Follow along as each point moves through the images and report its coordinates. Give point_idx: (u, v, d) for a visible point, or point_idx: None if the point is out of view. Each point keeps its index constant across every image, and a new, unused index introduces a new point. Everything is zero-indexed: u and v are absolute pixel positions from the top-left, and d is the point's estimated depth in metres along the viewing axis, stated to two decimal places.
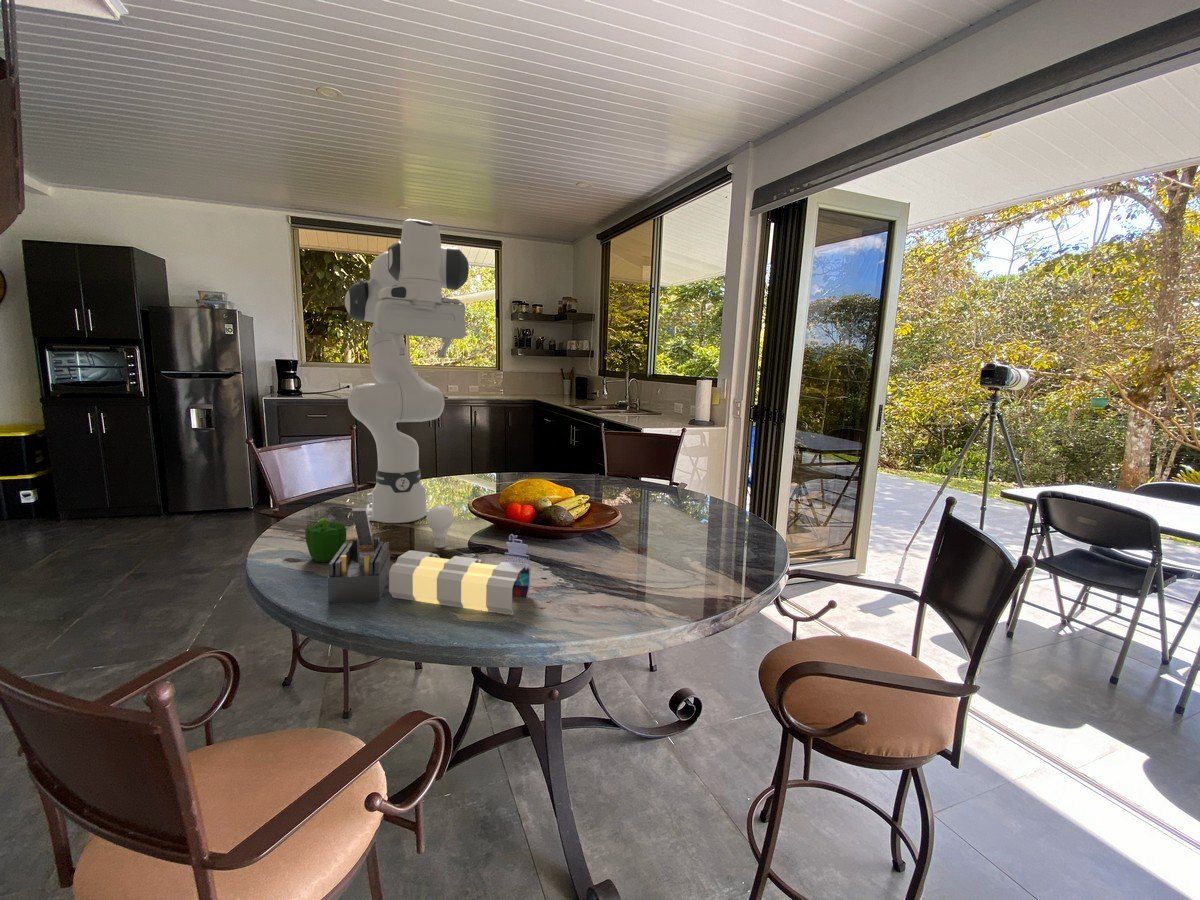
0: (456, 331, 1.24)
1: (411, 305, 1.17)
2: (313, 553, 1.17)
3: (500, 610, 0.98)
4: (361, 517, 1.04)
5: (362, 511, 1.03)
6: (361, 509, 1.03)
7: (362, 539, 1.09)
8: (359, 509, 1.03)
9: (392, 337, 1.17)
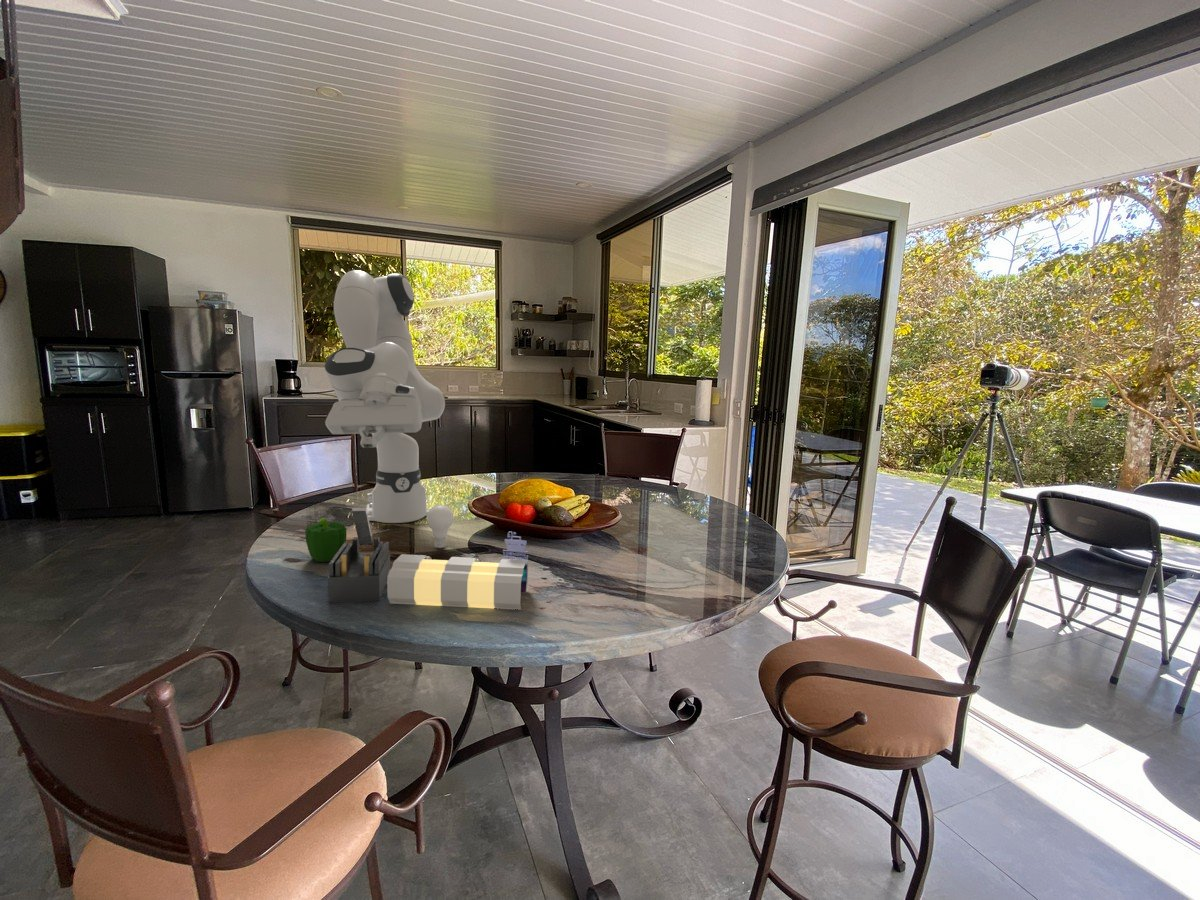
0: None
1: None
2: (313, 553, 1.17)
3: (507, 606, 1.00)
4: (361, 517, 1.04)
5: (362, 511, 1.03)
6: (361, 509, 1.03)
7: (362, 539, 1.09)
8: (359, 509, 1.03)
9: (383, 432, 1.17)
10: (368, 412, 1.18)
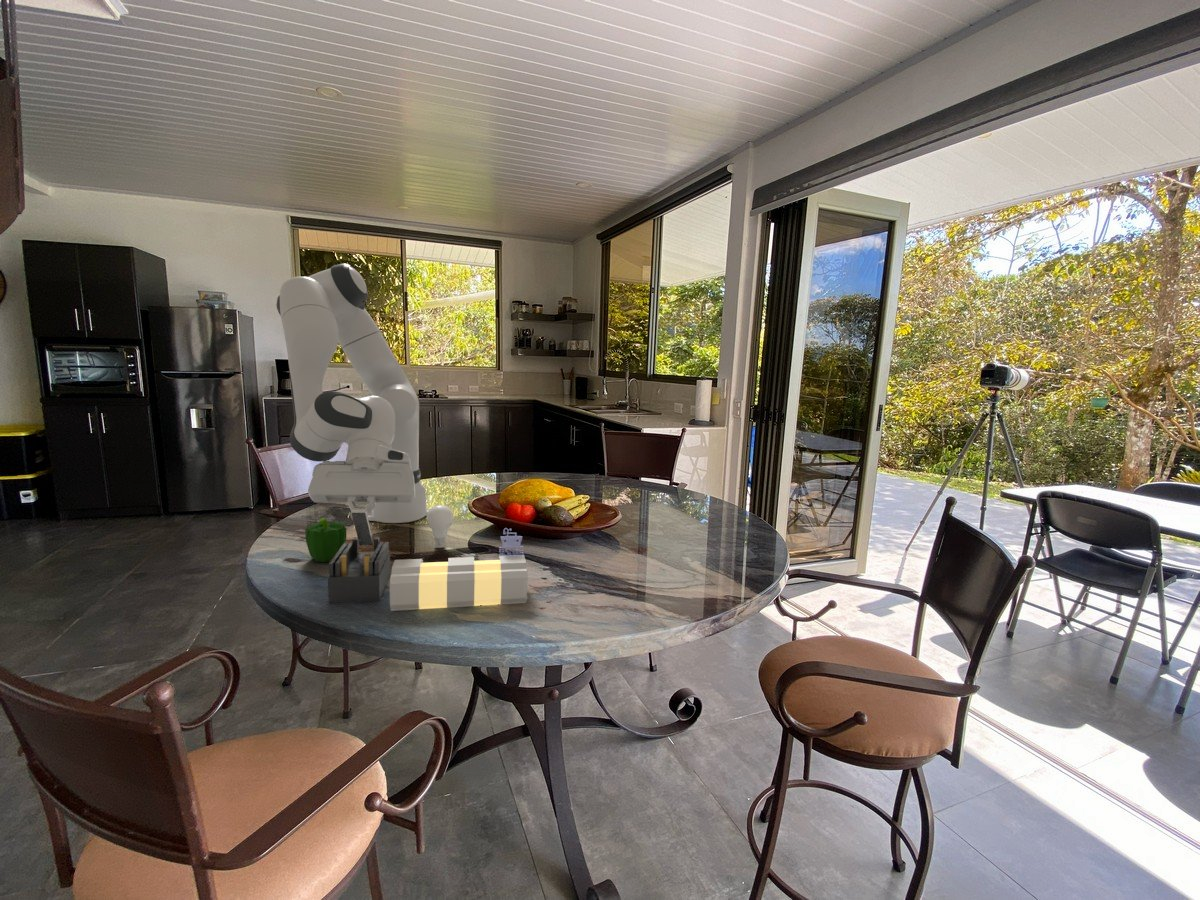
0: None
1: None
2: (313, 553, 1.17)
3: (514, 601, 1.03)
4: (361, 518, 1.04)
5: (362, 513, 1.03)
6: (361, 511, 1.03)
7: (362, 539, 1.09)
8: (359, 511, 1.03)
9: (375, 502, 1.08)
10: (357, 480, 1.08)
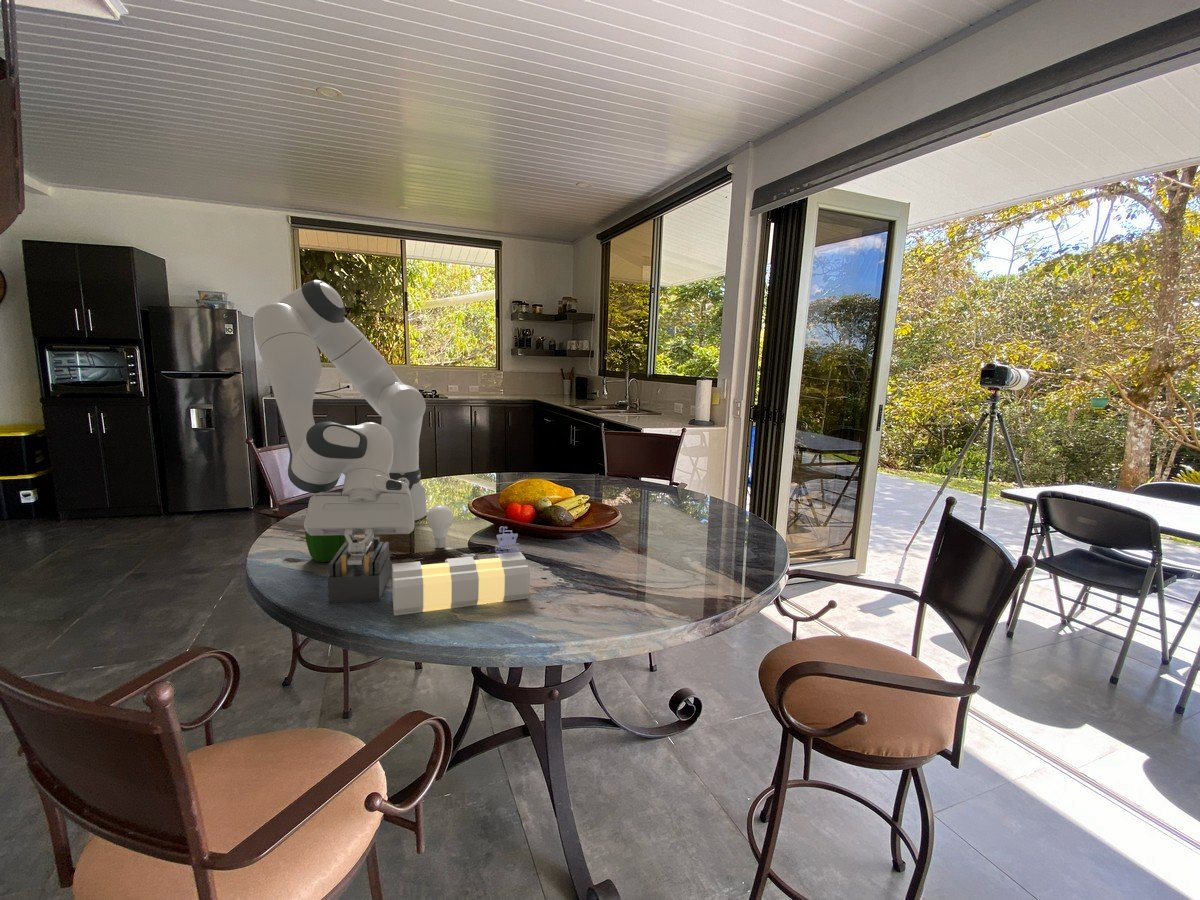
0: None
1: None
2: (313, 553, 1.17)
3: (516, 597, 1.04)
4: None
5: None
6: (357, 562, 1.00)
7: None
8: (355, 562, 1.00)
9: (373, 535, 1.05)
10: (355, 512, 1.05)
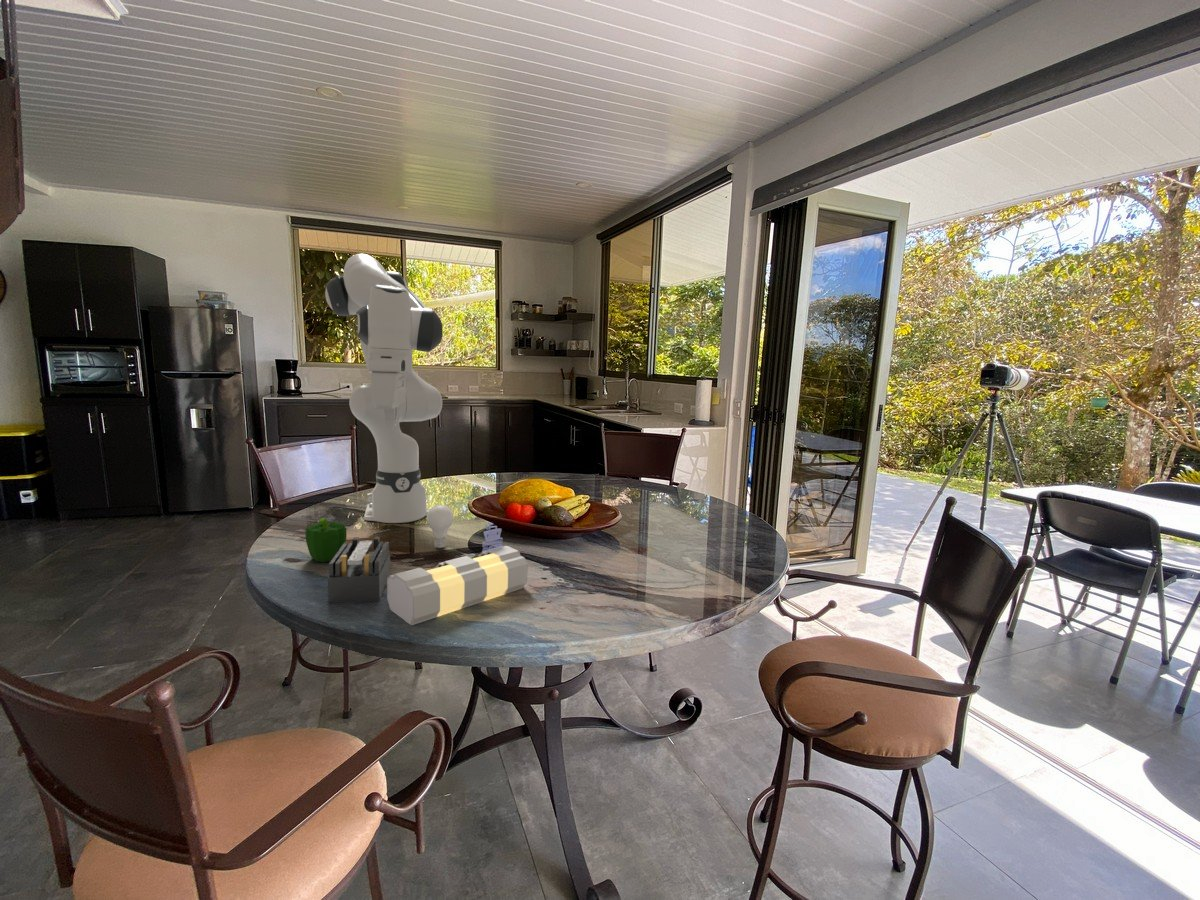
0: (404, 396, 1.23)
1: None
2: (313, 553, 1.17)
3: (515, 588, 1.08)
4: None
5: None
6: (357, 562, 1.00)
7: None
8: (355, 562, 1.00)
9: (390, 410, 1.13)
10: None
